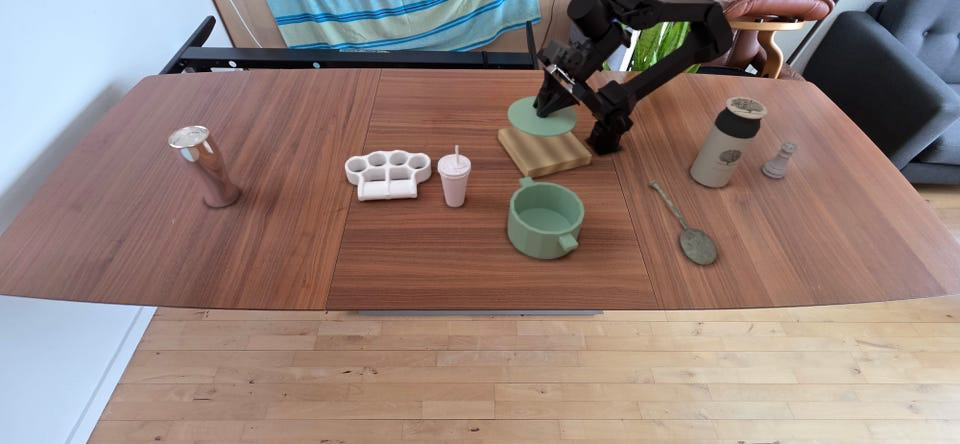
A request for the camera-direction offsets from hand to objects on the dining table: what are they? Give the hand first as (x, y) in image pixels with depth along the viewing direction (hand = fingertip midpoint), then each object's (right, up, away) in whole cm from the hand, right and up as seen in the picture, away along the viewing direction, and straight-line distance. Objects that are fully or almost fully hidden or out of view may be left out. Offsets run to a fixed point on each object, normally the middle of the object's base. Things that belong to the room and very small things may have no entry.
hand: (537, 111), depth 88 cm
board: (+3, -6, +13) cm, 15 cm away
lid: (+1, -1, +1) cm, 2 cm away
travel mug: (+40, -13, +9) cm, 42 cm away
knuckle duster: (-31, -14, +5) cm, 34 cm away
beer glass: (-64, -18, -1) cm, 66 cm away
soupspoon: (+28, -23, -1) cm, 36 cm away
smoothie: (-17, -18, +1) cm, 25 cm away
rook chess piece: (+55, -12, +10) cm, 57 cm away
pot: (0, -25, -5) cm, 25 cm away
